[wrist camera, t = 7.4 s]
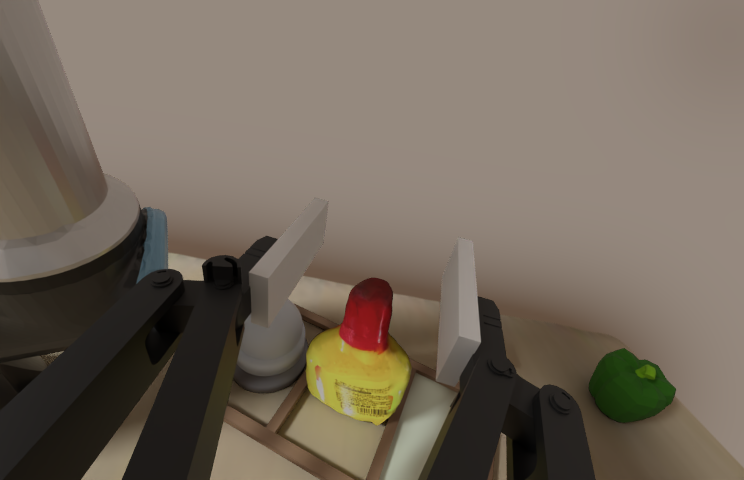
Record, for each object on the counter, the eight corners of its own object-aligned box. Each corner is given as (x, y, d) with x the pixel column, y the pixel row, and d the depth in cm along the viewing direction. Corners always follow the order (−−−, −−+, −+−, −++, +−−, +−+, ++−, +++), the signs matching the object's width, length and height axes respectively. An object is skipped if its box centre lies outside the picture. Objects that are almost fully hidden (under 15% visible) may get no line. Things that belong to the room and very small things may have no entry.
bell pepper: (597, 369, 52) (637, 329, 47) (650, 418, 46) (702, 379, 41) (566, 387, 48) (605, 345, 43) (620, 442, 43) (673, 402, 37)
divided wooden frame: (177, 393, 37) (175, 386, 37) (274, 298, 52) (274, 292, 51) (481, 576, 29) (487, 572, 29) (495, 404, 44) (500, 398, 43)
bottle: (293, 406, 39) (304, 284, 28) (315, 362, 44) (331, 245, 33) (388, 442, 37) (440, 330, 26) (399, 393, 43) (445, 281, 31)
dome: (217, 358, 40) (210, 314, 35) (263, 312, 47) (263, 270, 42) (277, 391, 38) (278, 349, 33) (316, 338, 45) (321, 297, 40)
